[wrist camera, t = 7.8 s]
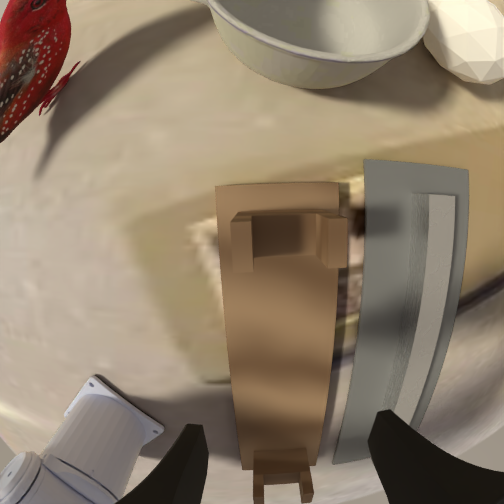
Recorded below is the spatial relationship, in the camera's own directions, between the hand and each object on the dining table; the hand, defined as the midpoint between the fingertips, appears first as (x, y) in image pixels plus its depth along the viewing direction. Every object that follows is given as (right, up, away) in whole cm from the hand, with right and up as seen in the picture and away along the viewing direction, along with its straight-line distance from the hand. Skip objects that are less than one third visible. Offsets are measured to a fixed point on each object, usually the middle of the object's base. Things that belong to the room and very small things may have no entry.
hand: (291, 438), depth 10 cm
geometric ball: (+13, +23, +4) cm, 27 cm away
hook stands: (0, -1, +10) cm, 10 cm away
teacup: (0, +22, +5) cm, 23 cm away
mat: (+10, 0, +9) cm, 14 cm away
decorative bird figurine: (-18, +18, +6) cm, 26 cm away
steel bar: (+10, 0, +9) cm, 14 cm away
